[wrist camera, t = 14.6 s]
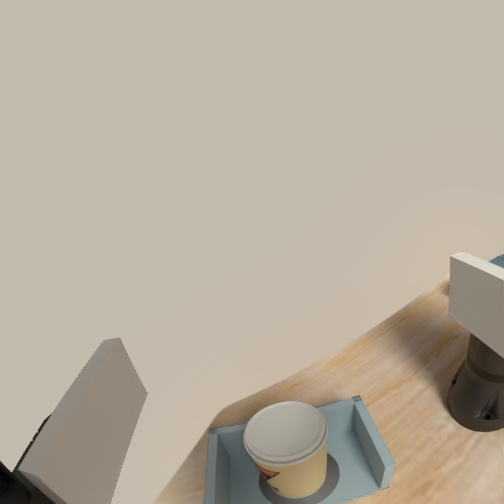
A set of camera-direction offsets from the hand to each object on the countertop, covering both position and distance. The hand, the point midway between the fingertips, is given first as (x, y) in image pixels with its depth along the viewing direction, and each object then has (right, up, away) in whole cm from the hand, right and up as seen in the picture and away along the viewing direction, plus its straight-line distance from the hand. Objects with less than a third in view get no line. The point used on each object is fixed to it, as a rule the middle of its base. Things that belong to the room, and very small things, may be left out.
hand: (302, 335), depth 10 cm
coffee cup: (+4, -27, +20) cm, 34 cm away
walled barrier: (+5, -28, +20) cm, 35 cm away
